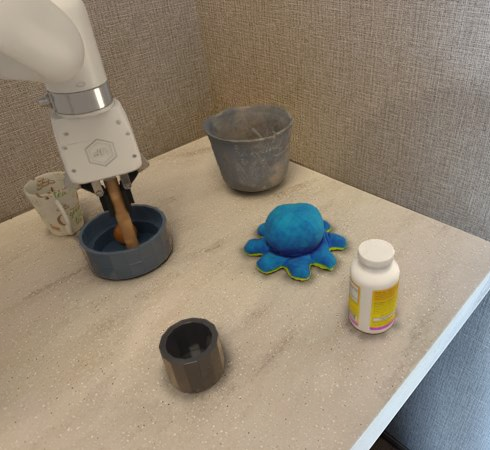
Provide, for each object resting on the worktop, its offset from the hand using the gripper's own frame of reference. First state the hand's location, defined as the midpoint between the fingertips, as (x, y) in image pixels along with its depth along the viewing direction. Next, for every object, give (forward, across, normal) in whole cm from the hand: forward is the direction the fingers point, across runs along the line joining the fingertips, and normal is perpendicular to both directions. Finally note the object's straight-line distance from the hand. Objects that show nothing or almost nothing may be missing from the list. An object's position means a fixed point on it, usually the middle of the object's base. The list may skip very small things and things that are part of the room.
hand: (120, 209), depth 70 cm
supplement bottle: (+11, +28, -30) cm, 43 cm away
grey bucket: (+11, +28, +12) cm, 32 cm away
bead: (+8, 0, +6) cm, 10 cm away
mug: (+11, -10, +16) cm, 21 cm away
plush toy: (+11, +26, -10) cm, 30 cm away
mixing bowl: (+11, 0, +2) cm, 11 cm away
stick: (+8, 0, -2) cm, 9 cm away
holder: (+11, +2, -26) cm, 29 cm away
